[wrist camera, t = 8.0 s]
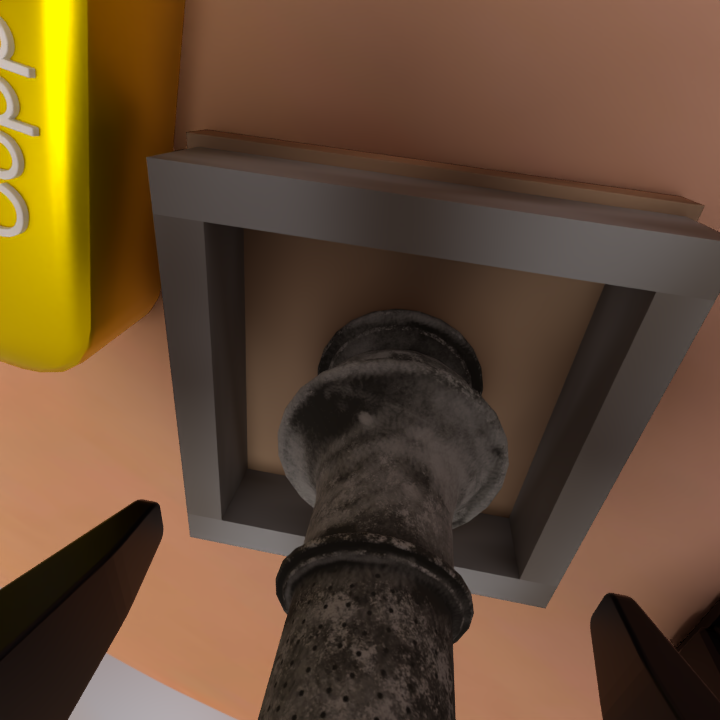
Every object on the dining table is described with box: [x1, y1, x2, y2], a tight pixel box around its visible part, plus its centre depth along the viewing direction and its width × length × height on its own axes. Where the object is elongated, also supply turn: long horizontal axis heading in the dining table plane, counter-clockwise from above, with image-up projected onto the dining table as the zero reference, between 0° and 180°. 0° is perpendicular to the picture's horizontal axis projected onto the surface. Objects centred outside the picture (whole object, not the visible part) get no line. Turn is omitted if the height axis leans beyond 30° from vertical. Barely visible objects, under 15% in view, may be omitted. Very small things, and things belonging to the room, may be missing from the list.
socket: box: [146, 130, 720, 608], centre depth 14 cm, size 13×13×4 cm
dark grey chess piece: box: [258, 309, 509, 720], centre depth 10 cm, size 6×6×12 cm
